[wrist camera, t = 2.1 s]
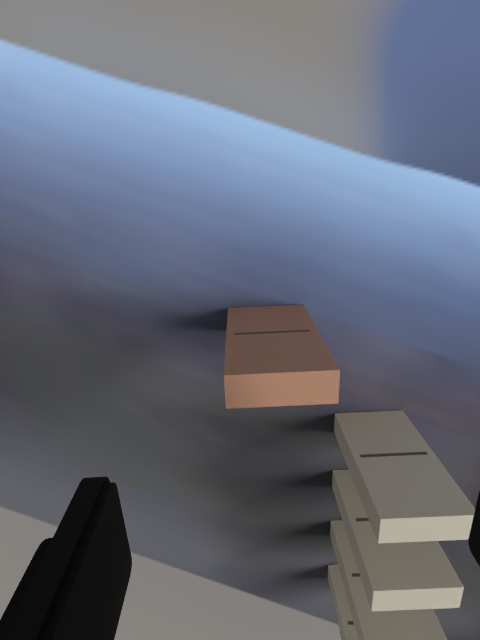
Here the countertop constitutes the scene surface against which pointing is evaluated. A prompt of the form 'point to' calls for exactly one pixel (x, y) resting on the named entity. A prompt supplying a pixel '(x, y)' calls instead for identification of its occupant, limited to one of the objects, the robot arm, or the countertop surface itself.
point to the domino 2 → (341, 604)
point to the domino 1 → (277, 359)
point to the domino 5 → (378, 626)
